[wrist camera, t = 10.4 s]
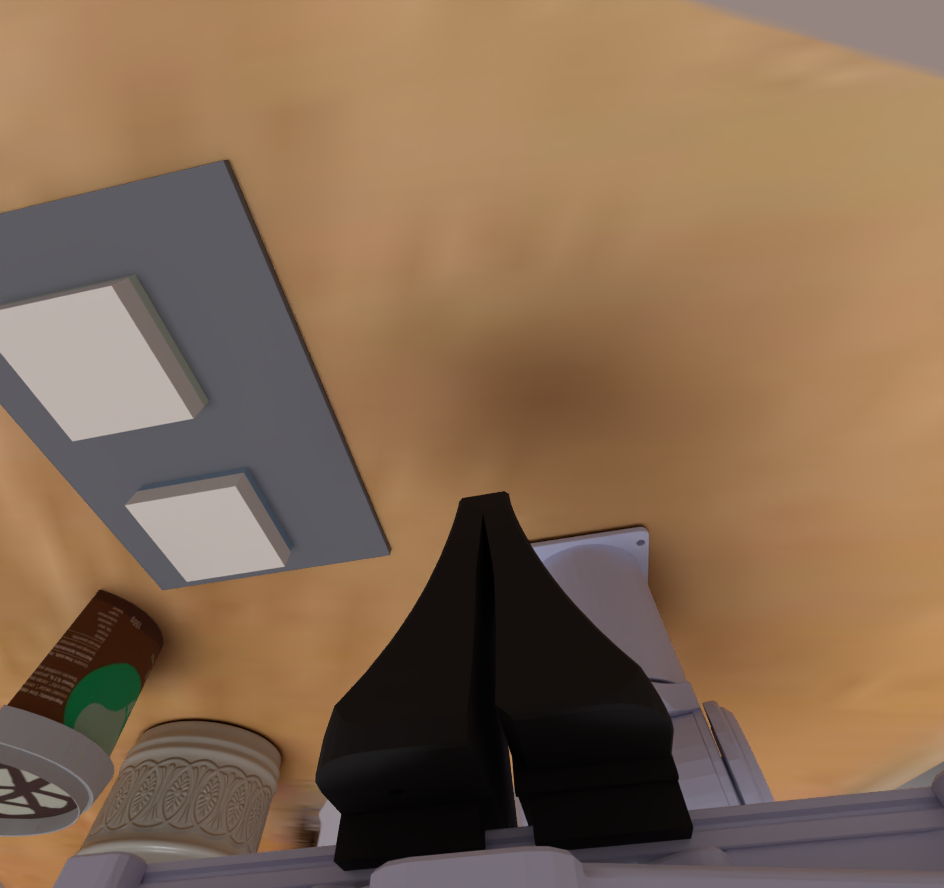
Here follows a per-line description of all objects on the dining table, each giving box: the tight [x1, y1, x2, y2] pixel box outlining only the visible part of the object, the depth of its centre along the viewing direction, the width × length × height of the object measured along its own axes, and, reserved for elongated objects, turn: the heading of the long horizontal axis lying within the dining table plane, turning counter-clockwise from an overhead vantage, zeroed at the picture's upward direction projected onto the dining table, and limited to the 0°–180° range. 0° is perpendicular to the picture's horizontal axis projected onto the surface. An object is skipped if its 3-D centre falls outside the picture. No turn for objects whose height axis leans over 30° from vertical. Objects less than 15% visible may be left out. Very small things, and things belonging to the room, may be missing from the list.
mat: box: [0, 160, 391, 590], centre depth 24 cm, size 21×15×1 cm
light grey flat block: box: [125, 467, 293, 582], centre depth 26 cm, size 6×2×6 cm
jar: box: [75, 721, 281, 864], centre depth 36 cm, size 13×13×18 cm
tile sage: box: [0, 275, 209, 441], centre depth 20 cm, size 6×2×6 cm
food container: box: [0, 590, 163, 836], centre depth 30 cm, size 12×6×10 cm, turn 146°
